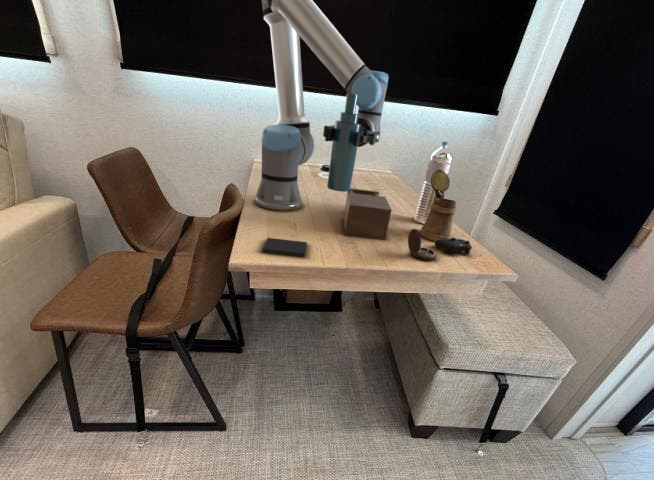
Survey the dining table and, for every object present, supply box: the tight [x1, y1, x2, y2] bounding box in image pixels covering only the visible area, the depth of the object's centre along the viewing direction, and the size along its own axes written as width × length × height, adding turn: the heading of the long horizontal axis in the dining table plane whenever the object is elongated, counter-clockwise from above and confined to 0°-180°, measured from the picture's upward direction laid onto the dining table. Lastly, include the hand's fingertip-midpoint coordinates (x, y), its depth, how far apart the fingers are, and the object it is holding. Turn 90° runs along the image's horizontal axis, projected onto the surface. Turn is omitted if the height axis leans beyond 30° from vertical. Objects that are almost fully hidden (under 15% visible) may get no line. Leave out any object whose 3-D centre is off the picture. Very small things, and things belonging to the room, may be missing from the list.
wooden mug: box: [419, 169, 457, 242], centre depth 98 cm, size 9×14×18 cm, turn 6°
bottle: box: [326, 93, 361, 193], centre depth 84 cm, size 6×6×22 cm
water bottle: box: [413, 140, 453, 225], centre depth 106 cm, size 7×7×25 cm
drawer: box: [344, 187, 380, 209], centre depth 108 cm, size 17×10×7 cm, turn 178°
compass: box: [407, 228, 437, 262], centre depth 85 cm, size 8×8×7 cm
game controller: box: [434, 237, 472, 255], centre depth 91 cm, size 10×5×6 cm
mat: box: [262, 237, 308, 258], centre depth 80 cm, size 7×10×1 cm
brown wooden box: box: [343, 191, 393, 240], centre depth 97 cm, size 14×12×9 cm
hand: (341, 137), depth 78 cm, fingers closed on bottle, 6 cm apart
